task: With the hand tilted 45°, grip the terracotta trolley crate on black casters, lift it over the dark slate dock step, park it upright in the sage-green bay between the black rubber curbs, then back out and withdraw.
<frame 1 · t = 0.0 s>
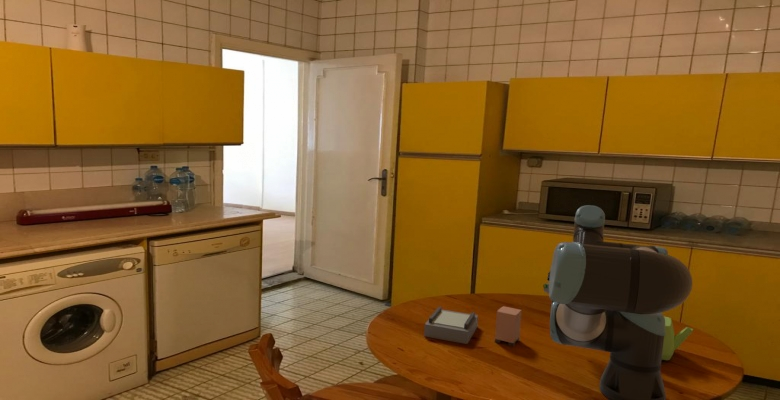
hand: (580, 296, 158), 15 cm above the table, tool tilted 35°, fingers open, 13 cm apart
teapot: (654, 355, 154), on the table
trolley crate: (507, 341, 160), on the table
dock step: (451, 331, 166), on the table
mechanical component: (553, 308, 194), on the table
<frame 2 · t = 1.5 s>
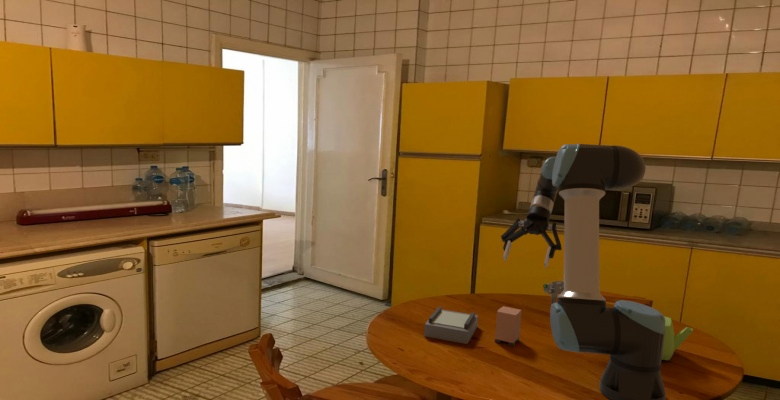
hand: (524, 261, 167), 23 cm above the table, tool tilted 45°, fingers open, 13 cm apart
nothing on the table moved.
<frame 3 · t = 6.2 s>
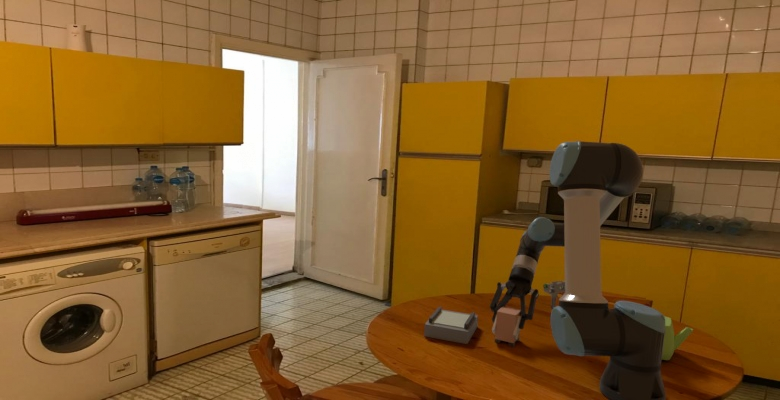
hand: (504, 334, 156), 3 cm above the table, tool tilted 45°, fingers closed on trolley crate, 6 cm apart
trolley crate: (507, 341, 160), on the table, touching gripper
everything else where it was.
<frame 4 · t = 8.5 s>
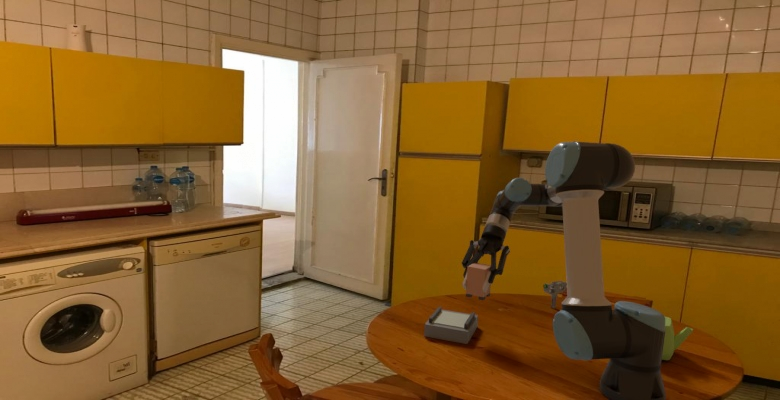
hand: (474, 288, 160), 16 cm above the table, tool tilted 45°, fingers closed on trolley crate, 6 cm apart
trolley crate: (477, 296, 163), point 13 cm above the table, touching gripper
everything else where it was.
when the fingers open (9 cm above the table, at t = 11.0 s): trolley crate drops 1 cm, resting on dock step.
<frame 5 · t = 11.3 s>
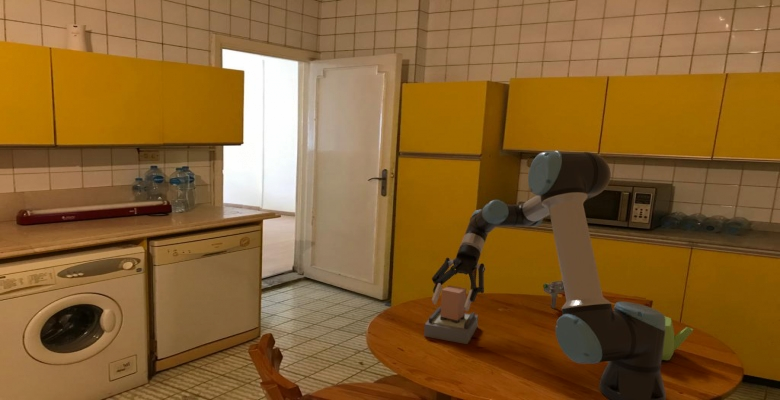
hand: (449, 305, 162), 10 cm above the table, tool tilted 45°, fingers open, 10 cm apart
trolley crate: (452, 318, 166), point 4 cm above the table, touching dock step
everything else where it was.
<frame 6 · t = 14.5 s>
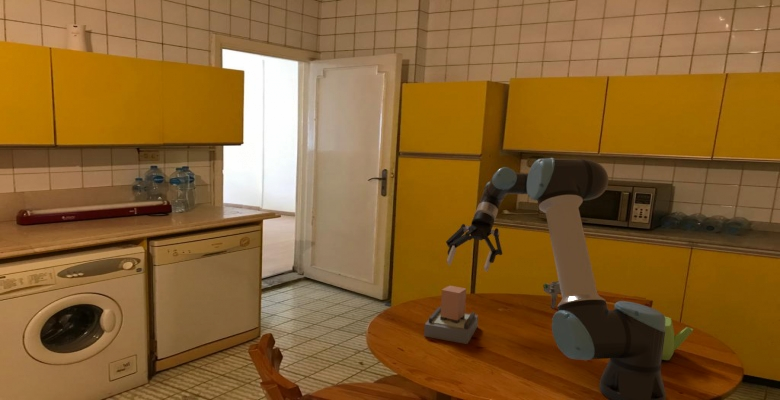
hand: (466, 266, 172), 20 cm above the table, tool tilted 45°, fingers open, 13 cm apart
nothing on the table moved.
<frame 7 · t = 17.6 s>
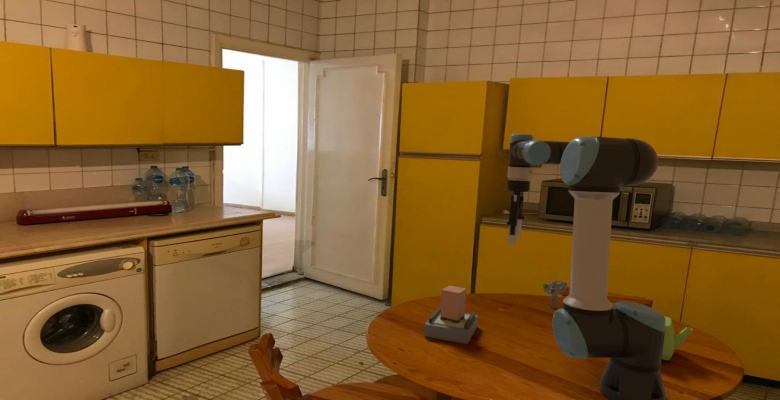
hand: (514, 240, 175), 29 cm above the table, tool pointing down, fingers open, 13 cm apart
nothing on the table moved.
at the end: trolley crate inside the target area (0.1 cm from its centre), point 4.3 cm above the table; trolley crate tilted 0°; the gripper is holding nothing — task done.
